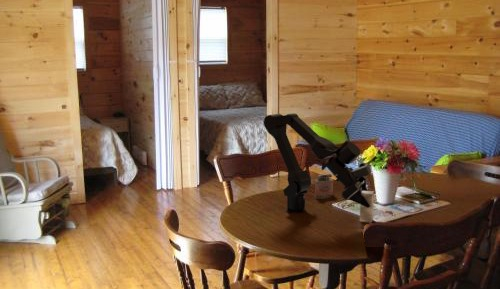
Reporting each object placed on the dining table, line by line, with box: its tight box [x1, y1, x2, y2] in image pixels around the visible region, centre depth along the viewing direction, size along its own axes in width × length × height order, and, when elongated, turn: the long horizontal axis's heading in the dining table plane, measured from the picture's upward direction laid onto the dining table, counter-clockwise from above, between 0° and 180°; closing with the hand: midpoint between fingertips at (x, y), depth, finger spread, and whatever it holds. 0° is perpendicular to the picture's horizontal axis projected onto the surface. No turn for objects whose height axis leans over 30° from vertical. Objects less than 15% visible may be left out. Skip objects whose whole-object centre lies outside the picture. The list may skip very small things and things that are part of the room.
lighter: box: [314, 173, 334, 200], centre depth 224 cm, size 8×3×10 cm, turn 105°
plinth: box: [373, 209, 383, 216], centre depth 201 cm, size 6×6×1 cm
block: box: [359, 190, 375, 224], centre depth 190 cm, size 4×4×11 cm
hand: (370, 204), depth 190 cm, fingers open, 7 cm apart
